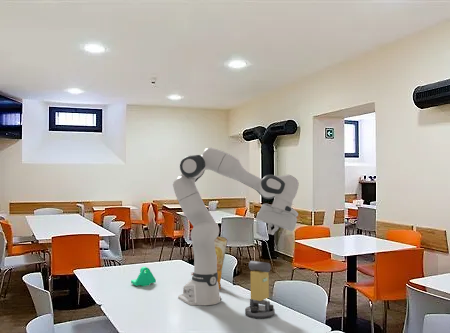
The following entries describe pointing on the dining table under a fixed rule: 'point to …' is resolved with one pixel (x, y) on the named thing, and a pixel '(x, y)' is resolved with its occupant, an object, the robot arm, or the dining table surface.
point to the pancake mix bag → (220, 255)
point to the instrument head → (259, 281)
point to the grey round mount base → (260, 310)
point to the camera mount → (144, 277)
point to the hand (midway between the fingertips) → (270, 233)
